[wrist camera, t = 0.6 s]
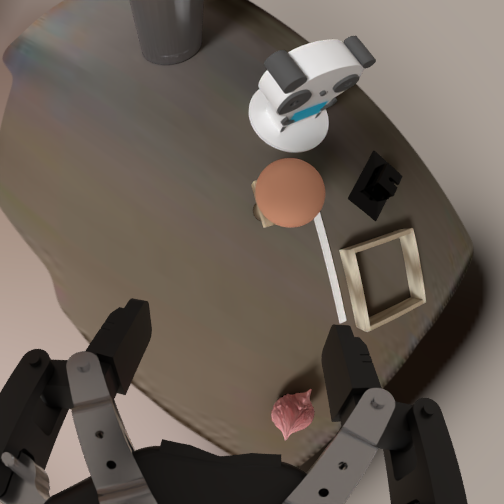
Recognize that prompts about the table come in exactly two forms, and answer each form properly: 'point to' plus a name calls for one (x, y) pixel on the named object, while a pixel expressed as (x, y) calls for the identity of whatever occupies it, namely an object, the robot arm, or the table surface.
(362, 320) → the corral
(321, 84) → the panda figurine
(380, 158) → the black slotted stand
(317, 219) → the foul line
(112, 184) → the table surface
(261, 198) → the ball
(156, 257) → the table surface
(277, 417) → the flower
